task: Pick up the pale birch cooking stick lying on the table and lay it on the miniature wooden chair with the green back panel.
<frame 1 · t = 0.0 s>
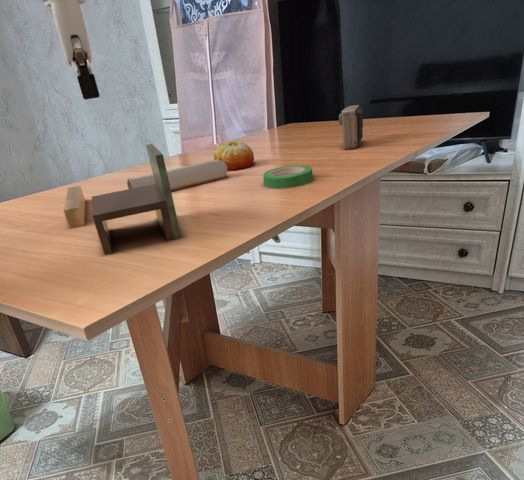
hand: (91, 97, 96), 22 cm above the table, tool pointing down, fingers open, 9 cm apart
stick: (78, 214, 106), on the table
camera: (352, 146, 134), on the table
tube: (182, 189, 115), on the table
fruit: (235, 169, 128), on the table
tape roll: (288, 184, 106), on the table
miniature wooden chair: (137, 236, 86), on the table
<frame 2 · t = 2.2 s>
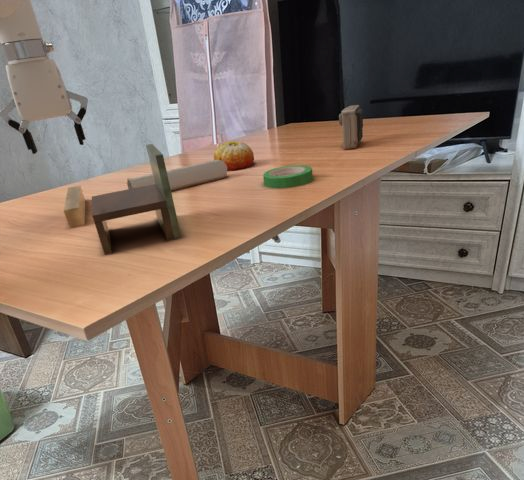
hand: (58, 148, 99), 14 cm above the table, tool pointing down, fingers open, 9 cm apart
nothing on the table moved.
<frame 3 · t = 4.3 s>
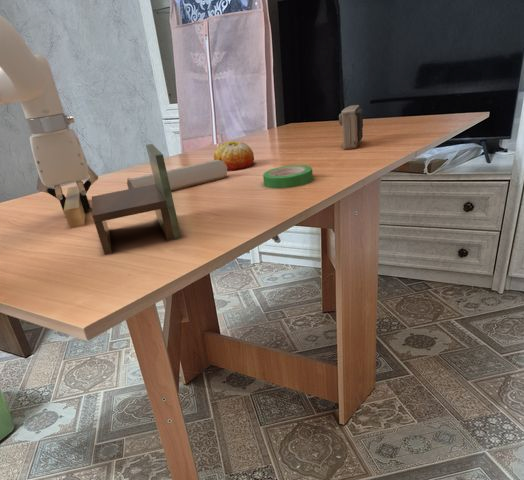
hand: (78, 213, 106), 0 cm above the table, tool pointing down, fingers closed on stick, 3 cm apart
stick: (78, 214, 106), on the table, touching gripper
everything else where it was.
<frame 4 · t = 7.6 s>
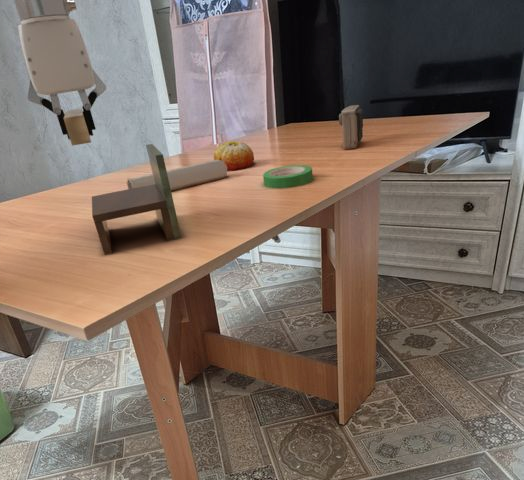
hand: (80, 135, 84), 17 cm above the table, tool pointing down, fingers closed on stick, 3 cm apart
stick: (81, 137, 84), point 17 cm above the table, touching gripper
everything else where it was.
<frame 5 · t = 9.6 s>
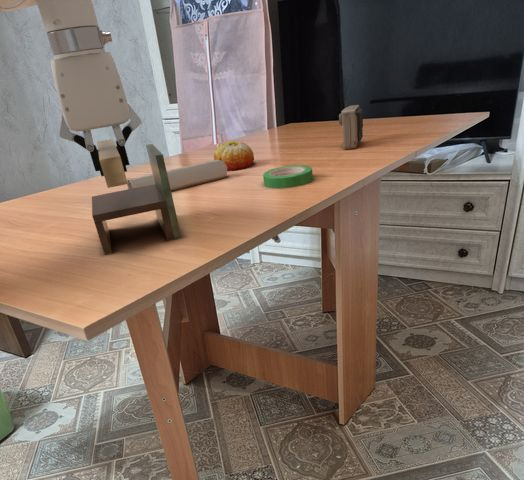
hand: (113, 171, 79), 12 cm above the table, tool pointing down, fingers closed on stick, 3 cm apart
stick: (114, 172, 80), point 11 cm above the table, touching gripper
everything else where it was.
when the fingers open (7 cm above the table, at t = 11.0 s): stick stays where it is, resting on miniature wooden chair.
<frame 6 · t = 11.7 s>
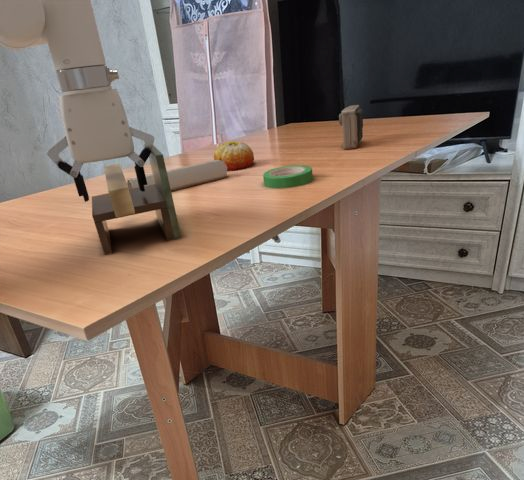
hand: (115, 194, 81), 8 cm above the table, tool pointing down, fingers open, 9 cm apart
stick: (121, 199, 82), point 7 cm above the table, touching miniature wooden chair
everything else where it was.
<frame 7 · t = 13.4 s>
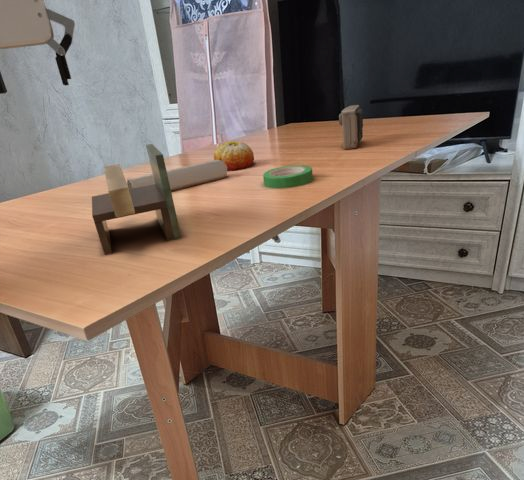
hand: (35, 89, 75), 25 cm above the table, tool pointing down, fingers open, 9 cm apart
nothing on the table moved.
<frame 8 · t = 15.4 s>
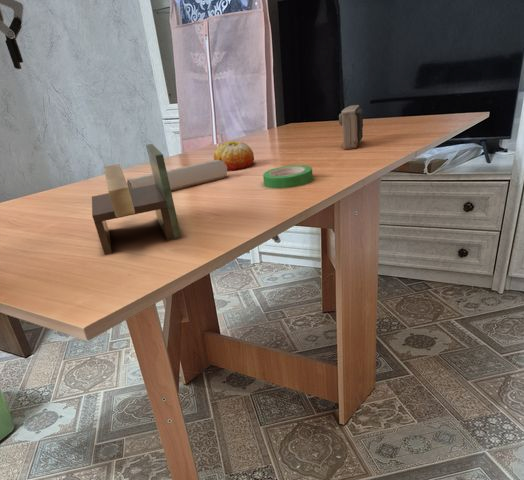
nothing on the table moved.
at the end: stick inside the target area on the miniature wooden chair (0.4 cm from its centre), point 7.0 cm above the miniature wooden chair's base; the gripper is holding nothing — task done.
